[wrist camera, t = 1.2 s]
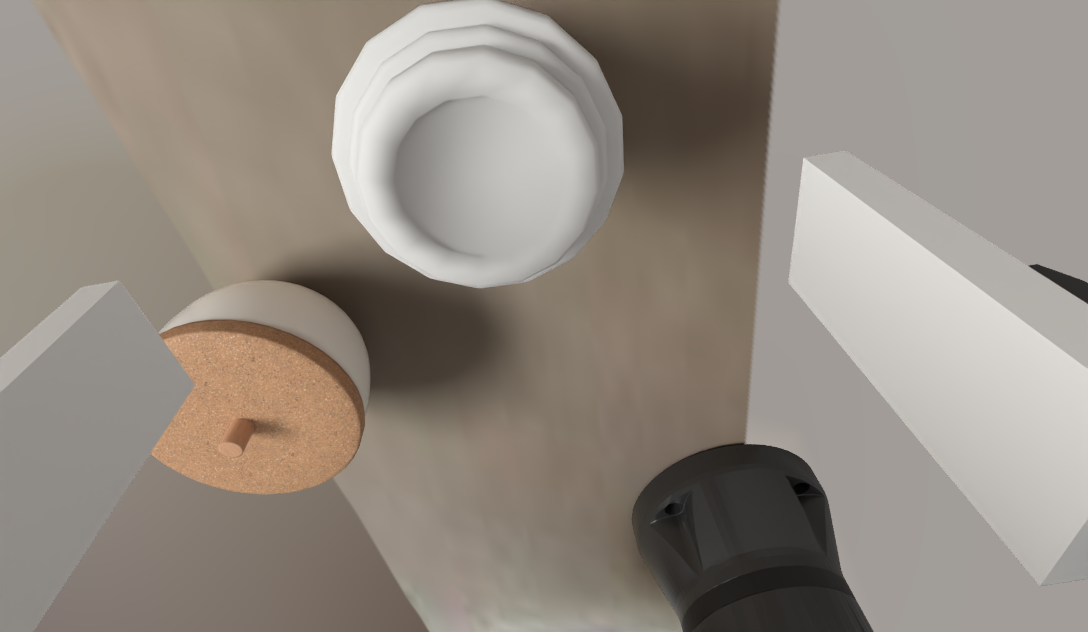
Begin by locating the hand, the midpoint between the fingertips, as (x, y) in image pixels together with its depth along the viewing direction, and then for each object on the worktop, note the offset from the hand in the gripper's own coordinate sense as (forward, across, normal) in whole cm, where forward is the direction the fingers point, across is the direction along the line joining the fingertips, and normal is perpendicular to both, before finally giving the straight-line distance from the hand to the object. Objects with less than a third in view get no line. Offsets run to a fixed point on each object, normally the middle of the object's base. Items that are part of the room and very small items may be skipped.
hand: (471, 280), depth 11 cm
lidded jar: (+18, +14, +11) cm, 25 cm away
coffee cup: (+18, 0, 0) cm, 18 cm away
